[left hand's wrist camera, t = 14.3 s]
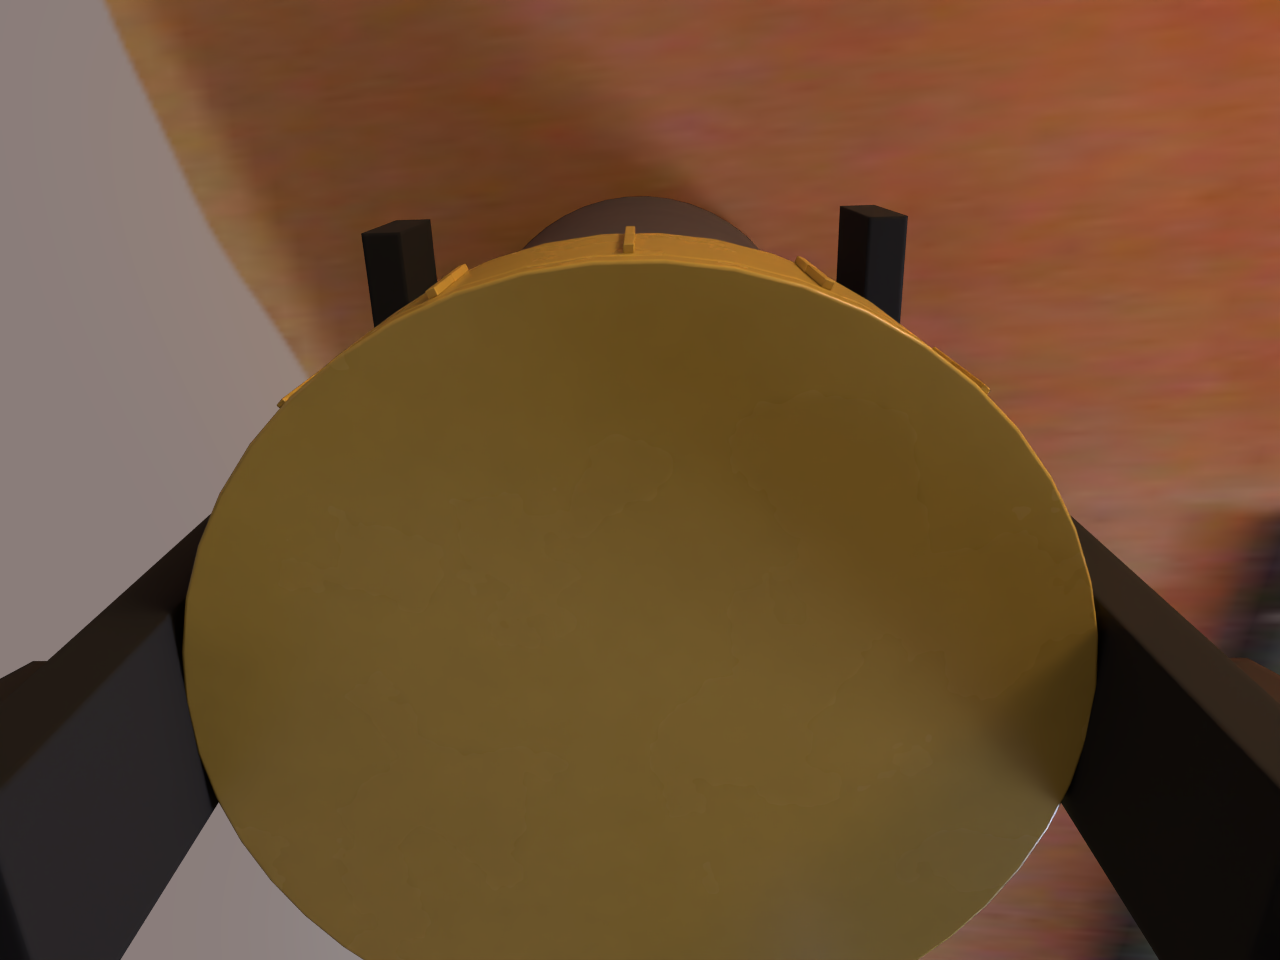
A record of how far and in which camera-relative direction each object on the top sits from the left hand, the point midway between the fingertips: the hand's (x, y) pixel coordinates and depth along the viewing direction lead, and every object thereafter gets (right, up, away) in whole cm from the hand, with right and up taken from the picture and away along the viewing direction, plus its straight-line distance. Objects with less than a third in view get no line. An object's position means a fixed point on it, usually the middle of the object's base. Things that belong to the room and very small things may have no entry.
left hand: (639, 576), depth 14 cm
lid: (0, -1, -3) cm, 3 cm away
